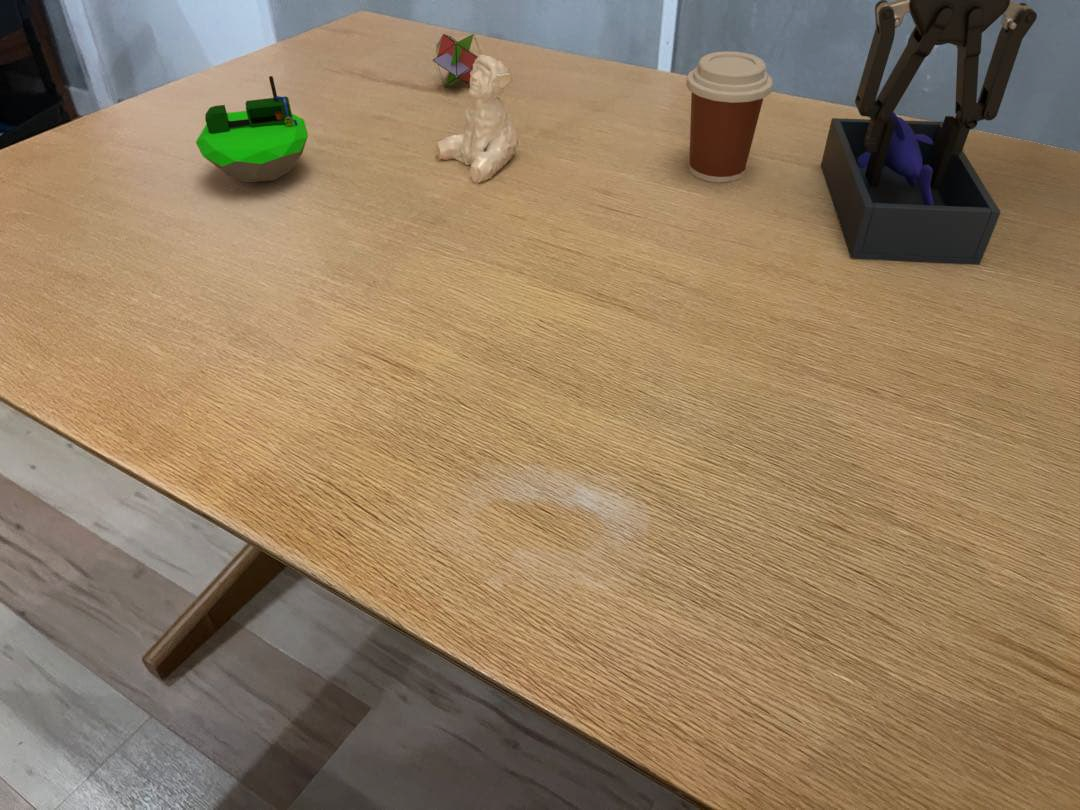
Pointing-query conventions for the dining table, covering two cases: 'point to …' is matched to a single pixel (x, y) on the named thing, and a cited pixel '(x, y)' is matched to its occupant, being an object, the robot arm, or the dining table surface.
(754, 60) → the coffee cup
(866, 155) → the fish toy
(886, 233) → the bin
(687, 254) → the dining table surface
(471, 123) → the seated clay statuette
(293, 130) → the miniature floating island
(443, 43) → the geometric puzzle
